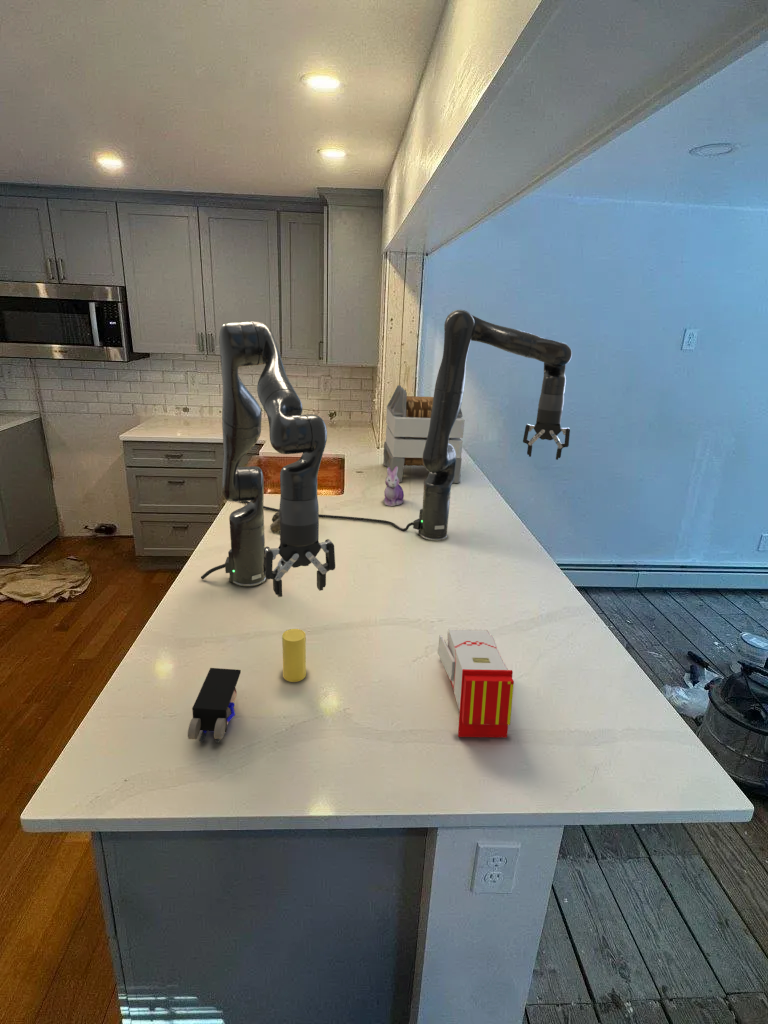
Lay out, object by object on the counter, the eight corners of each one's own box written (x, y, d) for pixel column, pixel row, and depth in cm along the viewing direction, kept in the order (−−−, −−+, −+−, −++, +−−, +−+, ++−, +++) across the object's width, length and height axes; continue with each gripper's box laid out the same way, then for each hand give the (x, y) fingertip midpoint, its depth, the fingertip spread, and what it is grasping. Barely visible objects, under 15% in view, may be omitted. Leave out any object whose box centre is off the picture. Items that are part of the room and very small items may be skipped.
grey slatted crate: (382, 463, 289) (386, 382, 275) (445, 464, 293) (451, 384, 279) (390, 482, 257) (394, 392, 243) (460, 483, 261) (468, 394, 247)
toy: (488, 613, 130) (523, 677, 101) (484, 667, 133) (517, 744, 104) (435, 612, 130) (455, 676, 101) (432, 666, 133) (451, 743, 103)
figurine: (388, 507, 225) (390, 471, 220) (377, 500, 233) (378, 464, 228) (409, 505, 229) (411, 469, 224) (397, 497, 238) (399, 462, 232)
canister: (290, 685, 118) (290, 643, 115) (278, 673, 122) (277, 633, 118) (310, 676, 121) (310, 636, 118) (298, 665, 125) (297, 626, 121)
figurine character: (226, 757, 100) (244, 694, 114) (223, 726, 97) (241, 665, 110) (188, 756, 100) (210, 694, 114) (183, 725, 97) (207, 664, 110)
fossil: (276, 500, 214) (305, 479, 209) (292, 519, 217) (322, 499, 212) (259, 527, 195) (291, 505, 190) (277, 547, 198) (310, 526, 193)
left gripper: (267, 528, 104) (269, 606, 110) (340, 520, 110) (339, 594, 115) (258, 515, 111) (261, 589, 116) (328, 508, 116) (327, 579, 122)
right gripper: (526, 407, 177) (520, 458, 183) (574, 411, 174) (566, 462, 179) (527, 404, 184) (521, 452, 190) (573, 408, 181) (565, 457, 186)
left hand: (300, 592), depth 116 cm, fingers open, 8 cm apart
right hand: (543, 457), depth 185 cm, fingers open, 8 cm apart
